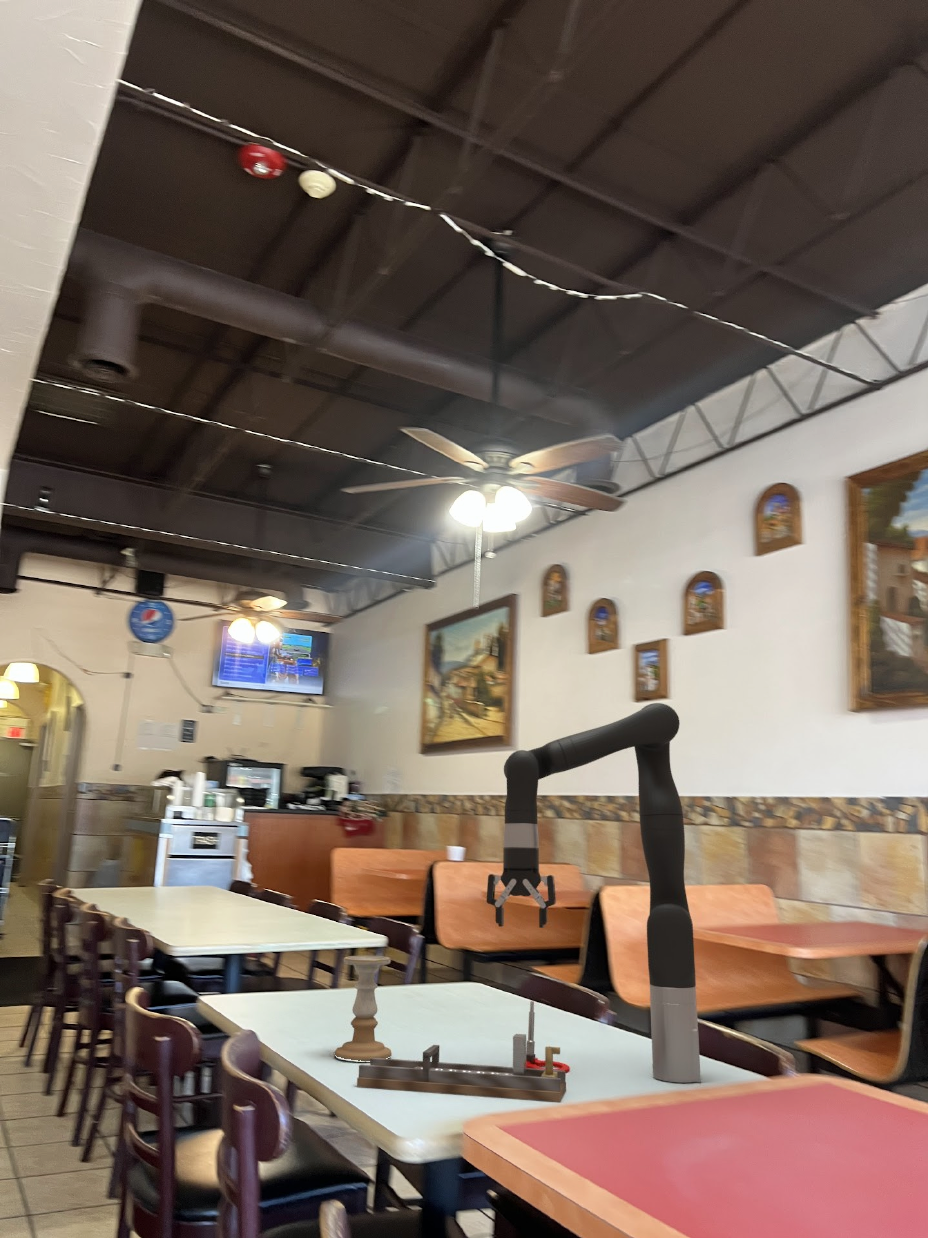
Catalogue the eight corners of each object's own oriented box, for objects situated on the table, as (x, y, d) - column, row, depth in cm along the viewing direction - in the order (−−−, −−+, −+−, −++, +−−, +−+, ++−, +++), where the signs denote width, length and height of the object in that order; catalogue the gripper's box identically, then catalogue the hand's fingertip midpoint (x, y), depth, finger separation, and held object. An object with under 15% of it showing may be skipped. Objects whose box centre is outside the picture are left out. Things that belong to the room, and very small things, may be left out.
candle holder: (402, 1056, 194) (406, 958, 199) (366, 1066, 184) (370, 961, 189) (359, 1049, 200) (364, 954, 206) (322, 1058, 191) (327, 957, 196)
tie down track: (566, 1090, 166) (565, 1043, 168) (560, 1102, 157) (559, 1053, 160) (372, 1076, 174) (374, 1032, 176) (356, 1087, 166) (358, 1040, 168)
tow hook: (575, 1071, 185) (533, 1064, 189) (576, 1004, 188) (535, 998, 192) (561, 1079, 177) (518, 1071, 181) (563, 1009, 181) (521, 1003, 184)
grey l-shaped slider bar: (526, 1081, 165) (526, 1034, 167) (523, 1085, 162) (523, 1037, 164) (415, 1073, 170) (416, 1028, 172) (411, 1077, 167) (412, 1030, 169)
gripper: (556, 847, 190) (557, 927, 186) (491, 846, 194) (491, 925, 189) (552, 846, 183) (552, 929, 179) (484, 845, 187) (483, 927, 182)
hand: (521, 927), depth 184 cm, fingers open, 8 cm apart
